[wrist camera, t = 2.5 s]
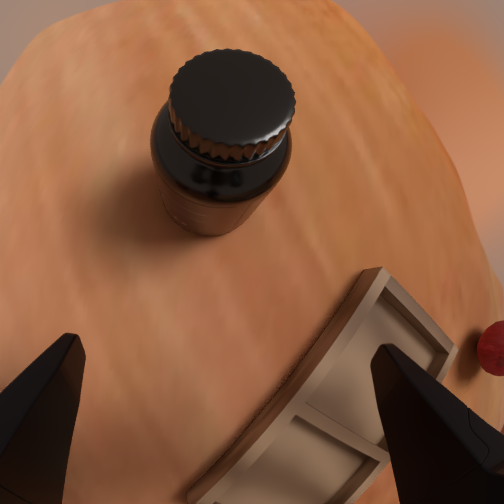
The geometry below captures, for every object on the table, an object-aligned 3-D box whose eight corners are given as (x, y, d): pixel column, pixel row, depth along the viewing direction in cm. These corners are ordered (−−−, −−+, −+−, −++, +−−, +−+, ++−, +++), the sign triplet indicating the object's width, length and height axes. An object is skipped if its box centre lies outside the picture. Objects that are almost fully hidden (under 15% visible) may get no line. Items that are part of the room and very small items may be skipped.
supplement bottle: (205, 131, 22) (230, 12, 11) (273, 188, 23) (353, 101, 11) (140, 195, 21) (104, 96, 9) (213, 258, 21) (250, 216, 10)
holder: (294, 535, 19) (303, 549, 17) (186, 492, 18) (187, 510, 16) (440, 346, 25) (458, 349, 22) (364, 269, 24) (382, 266, 21)
